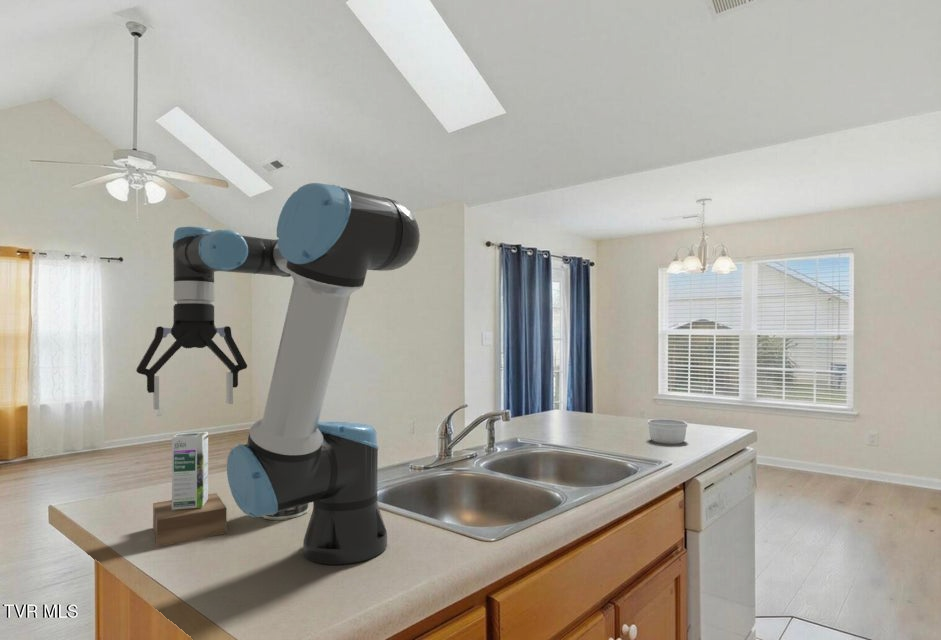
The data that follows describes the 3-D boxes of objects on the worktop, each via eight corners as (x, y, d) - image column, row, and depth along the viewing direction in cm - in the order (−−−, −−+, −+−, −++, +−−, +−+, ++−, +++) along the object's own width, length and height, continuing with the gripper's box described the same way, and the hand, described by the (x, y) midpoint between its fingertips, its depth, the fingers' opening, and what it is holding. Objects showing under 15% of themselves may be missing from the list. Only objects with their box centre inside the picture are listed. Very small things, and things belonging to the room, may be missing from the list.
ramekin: (685, 438, 199) (685, 419, 199) (689, 445, 186) (689, 425, 186) (647, 436, 202) (647, 418, 202) (648, 443, 190) (648, 423, 190)
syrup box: (170, 511, 107) (170, 437, 107) (178, 502, 113) (179, 431, 113) (202, 508, 108) (202, 435, 108) (208, 499, 114) (208, 430, 114)
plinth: (226, 532, 108) (226, 507, 109) (157, 546, 102) (157, 519, 102) (216, 516, 118) (216, 493, 119) (153, 527, 112) (153, 503, 112)
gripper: (253, 305, 122) (253, 399, 122) (121, 302, 108) (121, 409, 108) (261, 303, 116) (261, 402, 116) (123, 300, 102) (123, 414, 101)
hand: (194, 406), depth 112 cm, fingers open, 13 cm apart
